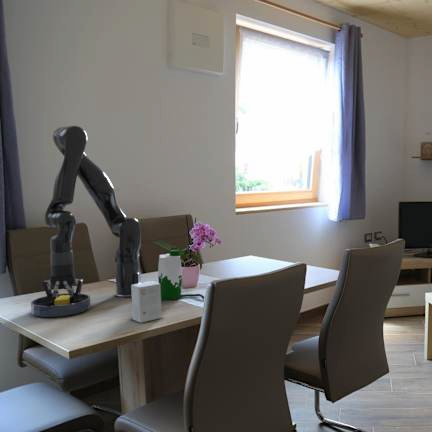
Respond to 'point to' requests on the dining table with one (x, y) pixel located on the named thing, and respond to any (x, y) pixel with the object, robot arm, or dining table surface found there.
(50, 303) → the bowl
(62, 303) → the yellow block
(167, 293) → the milk carton
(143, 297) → the small box
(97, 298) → the dining table surface
